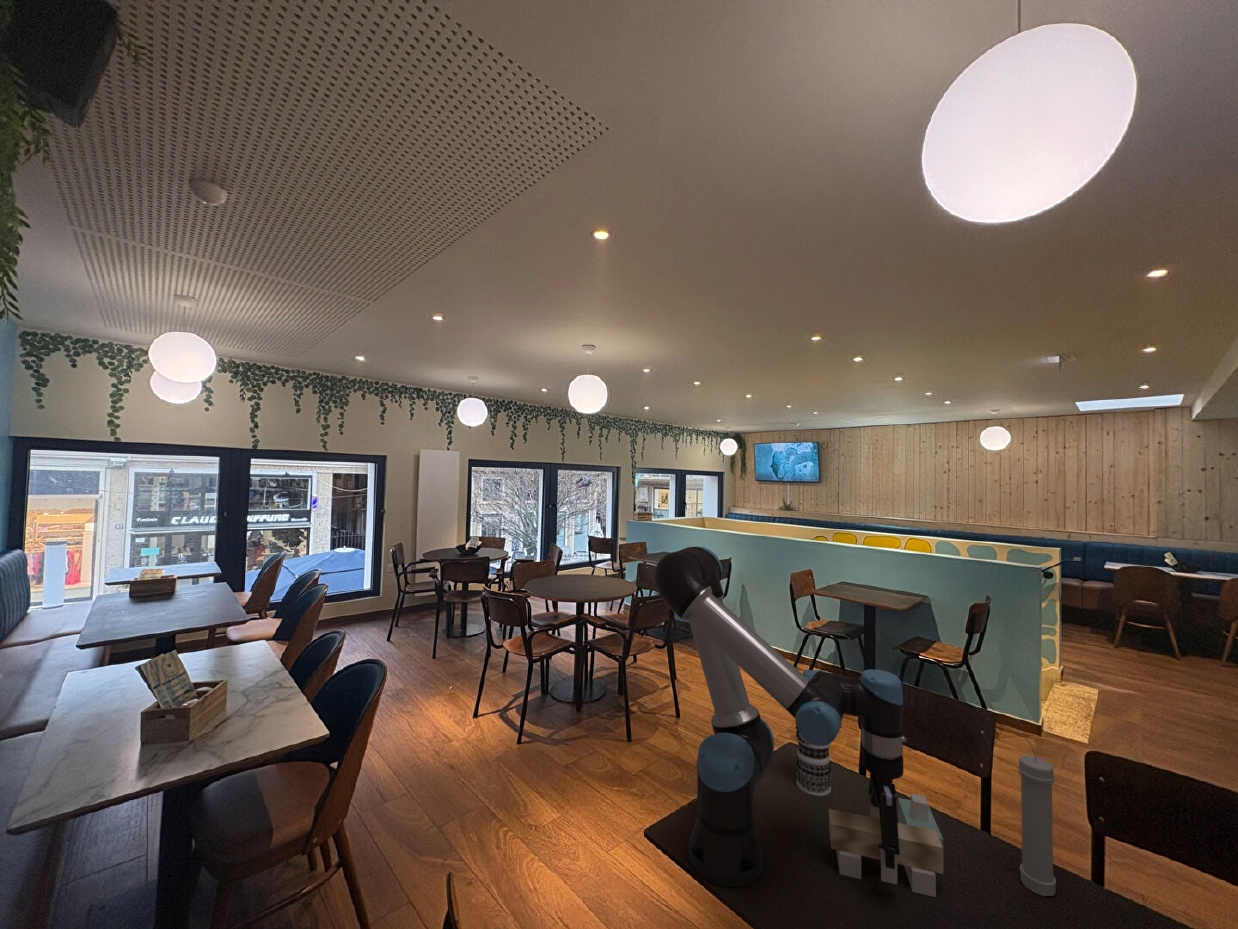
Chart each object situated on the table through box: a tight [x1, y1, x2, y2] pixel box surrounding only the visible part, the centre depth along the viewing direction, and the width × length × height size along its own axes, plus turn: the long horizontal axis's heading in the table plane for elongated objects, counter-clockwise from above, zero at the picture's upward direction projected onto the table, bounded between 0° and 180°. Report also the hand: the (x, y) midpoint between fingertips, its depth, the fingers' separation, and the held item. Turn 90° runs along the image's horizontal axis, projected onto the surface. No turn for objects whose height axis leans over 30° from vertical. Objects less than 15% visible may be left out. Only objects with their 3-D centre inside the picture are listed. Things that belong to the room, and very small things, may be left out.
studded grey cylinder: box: [794, 725, 832, 797], centre depth 130 cm, size 9×9×25 cm
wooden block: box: [828, 808, 944, 875], centre depth 102 cm, size 20×5×5 cm, turn 71°
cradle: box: [835, 850, 937, 898], centre depth 101 cm, size 17×7×4 cm, turn 71°
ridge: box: [897, 793, 945, 870], centre depth 109 cm, size 6×12×10 cm, turn 161°
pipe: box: [1014, 730, 1057, 897], centre depth 99 cm, size 6×6×30 cm
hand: (883, 858), depth 101 cm, fingers open, 11 cm apart
